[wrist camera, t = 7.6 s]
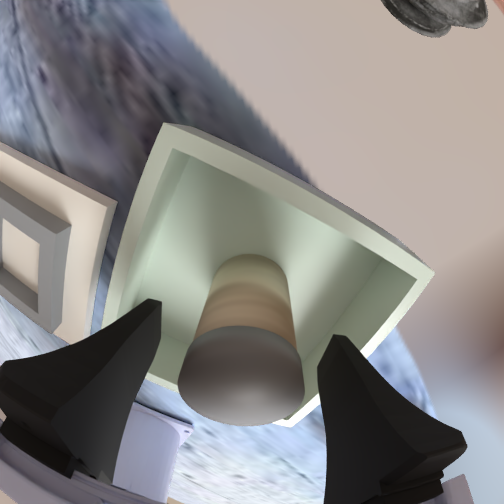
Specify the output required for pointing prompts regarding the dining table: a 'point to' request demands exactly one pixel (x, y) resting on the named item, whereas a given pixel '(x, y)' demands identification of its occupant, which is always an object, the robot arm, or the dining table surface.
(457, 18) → the salt shaker
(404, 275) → the bin
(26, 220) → the square socket plate
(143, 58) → the dining table surface
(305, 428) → the dining table surface
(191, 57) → the dining table surface
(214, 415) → the strut
